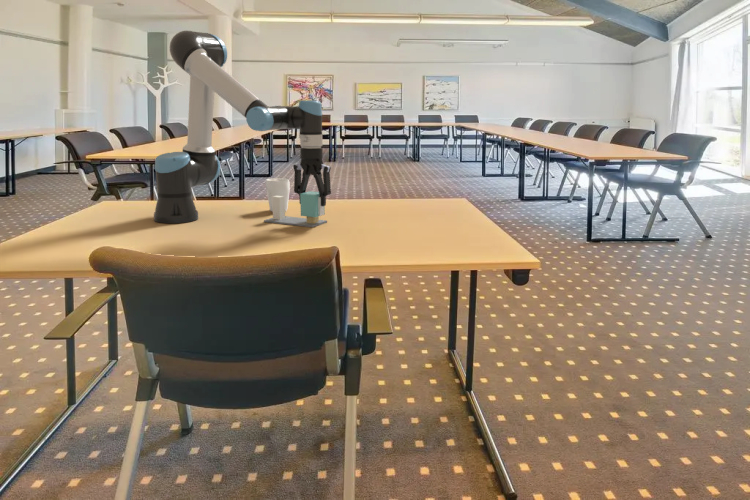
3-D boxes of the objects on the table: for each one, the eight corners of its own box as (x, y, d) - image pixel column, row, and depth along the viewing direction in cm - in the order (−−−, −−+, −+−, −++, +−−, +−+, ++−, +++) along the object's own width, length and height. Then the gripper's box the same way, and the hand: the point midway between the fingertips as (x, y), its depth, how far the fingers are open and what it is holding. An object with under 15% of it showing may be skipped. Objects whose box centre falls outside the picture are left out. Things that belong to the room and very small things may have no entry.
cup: (285, 213, 239) (285, 181, 236) (263, 212, 241) (262, 180, 238) (293, 209, 248) (292, 178, 245) (271, 208, 249) (270, 177, 246)
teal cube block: (300, 215, 217) (300, 193, 216) (309, 212, 223) (309, 191, 221) (315, 217, 215) (315, 194, 213) (324, 214, 220) (324, 192, 218)
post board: (263, 221, 222) (263, 197, 220) (279, 217, 231) (279, 193, 229) (312, 227, 214) (312, 202, 212) (327, 222, 223) (327, 198, 221)
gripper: (281, 146, 214) (283, 213, 220) (330, 149, 206) (331, 218, 212) (293, 145, 221) (295, 210, 226) (341, 147, 213) (342, 214, 218)
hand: (312, 214), depth 219 cm, fingers closed on teal cube block, 6 cm apart
